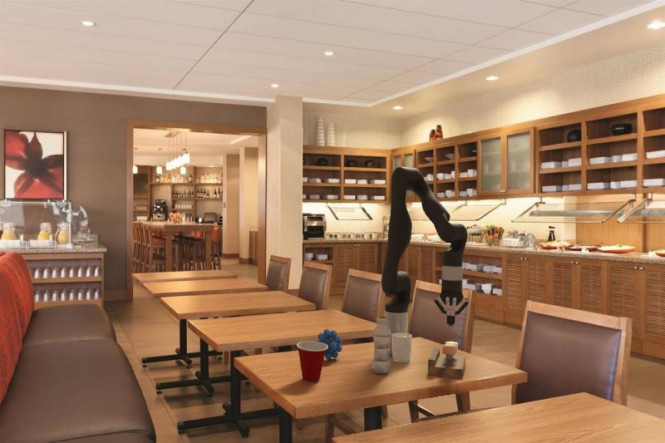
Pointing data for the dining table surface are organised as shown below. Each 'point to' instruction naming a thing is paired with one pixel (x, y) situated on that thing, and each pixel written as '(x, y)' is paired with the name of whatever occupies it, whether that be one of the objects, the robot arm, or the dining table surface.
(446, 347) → the peach rounded block
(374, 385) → the dining table surface
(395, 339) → the white cup
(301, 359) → the plastic cup
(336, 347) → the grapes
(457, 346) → the ivory key
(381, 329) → the plastic bottle
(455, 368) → the brown wooden block
